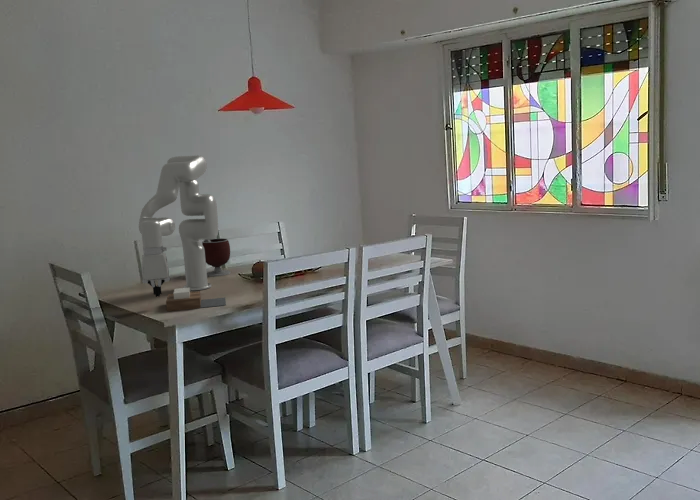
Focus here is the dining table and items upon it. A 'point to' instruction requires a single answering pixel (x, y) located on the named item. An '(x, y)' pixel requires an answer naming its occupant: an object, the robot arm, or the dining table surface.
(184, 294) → the tile
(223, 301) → the mat
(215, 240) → the mate gourd
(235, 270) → the dining table surface
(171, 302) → the panel
